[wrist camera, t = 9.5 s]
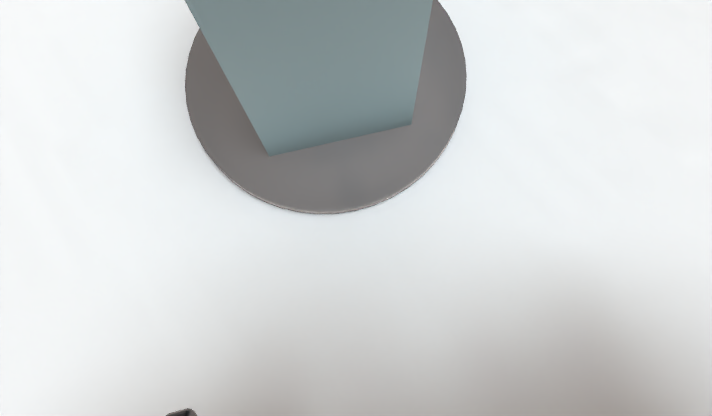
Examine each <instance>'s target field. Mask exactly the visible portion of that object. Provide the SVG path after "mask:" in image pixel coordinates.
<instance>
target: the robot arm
mask: <svg viewBox="0 0 712 416" xmlns="http://www.w3.org/2000/svg"><path fill="white" fill-rule="evenodd" d="M166 416H197V415H196V413H195V412H194V411H193V410H192V409H188V408H187V409H184V410H180V411H176V412H172V413H169V414H167V415H166Z"/></svg>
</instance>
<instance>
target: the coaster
mask: <svg viewBox="0 0 712 416" xmlns="http://www.w3.org/2000/svg"><path fill="white" fill-rule="evenodd" d="M185 91H186V102H187V107H188V112H189V116H190V120H191V123H192V125H193V128H194V130H195V133H196V135H197V137H198V139H199V141H200V142H201V144H202V146H203V148H204V149H205V151H206V152H207V154H208V155H209V156H210V157H211V159H212V160H213V161H214V163H215V164H216V165H217V166H218V167H219V169H220V170H221V171H222V172H223V173H224V174H225V175H226V176H227V177H228V178H229V179H231V180H232V181H233V182H234V183H235V184H236V185H238V186H239V187H241V188H242V189H243V190H245V191H246V192H247V193H249V194H251V195H253V196H255V197H257V198H258V199H260V200H262V201H264V202H267V203H269V204H272V205H275V206H277V207H280V208H284V209H288V210H292V211H297V212H303V213H313V214H335V213H343V212H350V211H356V210H360V209H363V208H366V207H370V206H373V205H376V204H378V203H380V202H383V201H385V200H387V199H389V198H392V197H393V196H395V195H397V194H398V193H400V192H402V191H403V190H405V189H407V188H408V187H410V186H411V185H412V184H413V183H415V182H416V181H417V180H418V179H419V178H421V177H422V176H423V175H424V174H425V173H426V172H427V171H428V170H429V169H430V168H431V167H432V166H433V165H434V163H435V162H436V161H437V159H438V158H439V157H440V155H441V154H442V153H443V151H444V150H445V148H446V146H447V145H448V143H449V141H450V139H451V137H452V135H453V133H454V131H455V128H456V125H457V122H458V120H459V117H460V114H461V111H462V107H463V103H464V98H465V92H466V65H465V57H464V53H463V48H462V44H461V41H460V39H459V36H458V33H457V31H456V28H455V26H454V25H453V23H452V21H451V19H450V17H449V16H448V14H447V12H446V11H445V10H444V8H443V7H442V6H441V4H440V3H439V2H438V0H433V2H432V8H431V14H430V19H429V25H428V31H427V37H426V42H425V48H424V54H423V60H422V65H421V71H420V77H419V83H418V88H417V94H416V100H415V106H414V111H413V117H412V123H411V125H407V126H403V127H398V128H394V129H389V130H385V131H380V132H376V133H372V134H367V135H363V136H358V137H354V138H349V139H345V140H341V141H336V142H332V143H327V144H323V145H318V146H314V147H310V148H305V149H301V150H296V151H292V152H287V153H283V154H279V155H274V156H270V157H269V155H268V153H267V151H266V149H265V147H264V146H263V144H262V142H261V140H260V138H259V136H258V134H257V133H256V131H255V129H254V127H253V125H252V123H251V122H250V120H249V118H248V116H247V114H246V112H245V110H244V109H243V107H242V105H241V103H240V101H239V99H238V98H237V96H236V94H235V92H234V90H233V88H232V86H231V85H230V83H229V81H228V79H227V77H226V75H225V74H224V72H223V70H222V68H221V66H220V64H219V62H218V61H217V59H216V57H215V55H214V53H213V51H212V50H211V48H210V46H209V44H208V42H207V40H206V38H205V37H204V35H203V33H202V31H201V29H199V31H198V33H197V35H196V37H195V39H194V42H193V44H192V47H191V50H190V53H189V58H188V63H187V68H186V80H185Z"/></svg>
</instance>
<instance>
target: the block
mask: <svg viewBox="0 0 712 416" xmlns="http://www.w3.org/2000/svg"><path fill="white" fill-rule="evenodd" d="M185 2H186V3H187V5H188V7H189V9H190V11H191V13H192V14H193V16H194V18H195V20H196V22H197V24H198V26H199V27H200V29H201V31H202V33H203V35H204V37H205V38H206V40H207V42H208V44H209V46H210V48H211V50H212V51H213V53H214V55H215V57H216V59H217V61H218V62H219V64H220V66H221V68H222V70H223V72H224V74H225V75H226V77H227V79H228V81H229V83H230V85H231V86H232V88H233V90H234V92H235V94H236V96H237V98H238V99H239V101H240V103H241V105H242V107H243V109H244V110H245V112H246V114H247V116H248V118H249V120H250V122H251V123H252V125H253V127H254V129H255V131H256V133H257V134H258V136H259V138H260V140H261V142H262V144H263V146H264V147H265V149H266V151H267V153H268V155H269V157H270V156H274V155H279V154H283V153H287V152H292V151H296V150H301V149H305V148H310V147H314V146H318V145H323V144H327V143H332V142H336V141H341V140H345V139H349V138H354V137H358V136H363V135H367V134H372V133H376V132H380V131H385V130H389V129H394V128H398V127H403V126H407V125H411V123H412V117H413V111H414V106H415V100H416V94H417V88H418V83H419V77H420V71H421V65H422V60H423V54H424V48H425V42H426V37H427V31H428V25H429V19H430V14H431V8H432V2H433V0H185Z"/></svg>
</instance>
